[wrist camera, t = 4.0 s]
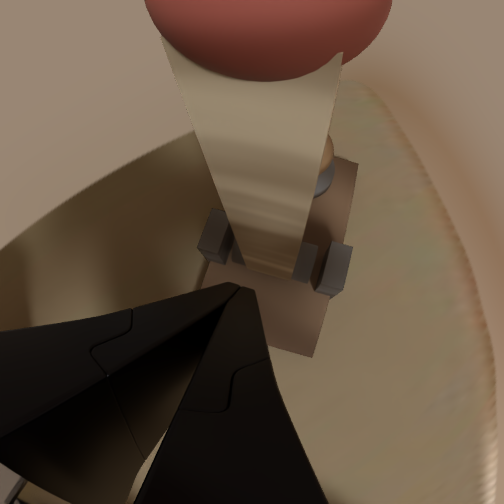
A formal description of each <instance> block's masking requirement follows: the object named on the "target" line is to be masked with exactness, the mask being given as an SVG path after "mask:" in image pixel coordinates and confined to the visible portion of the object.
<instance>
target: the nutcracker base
mask: <svg viewBox="0 0 504 504" xmlns="http://www.w3.org/2000/svg"><path fill="white" fill-rule="evenodd" d="M333 154H334V147H333V143H332V140H331V138H330V136H329V134H328V138H327V142H326V146H325V151H324V155H323V159H322V164H321V168H320V172H319V176H318V180H317V184H316V188H315V192H314V196H313V200H312V204H311V208H310V212H309V216H308V220H307V224H306V228H305V231H304V235H303V239H302V241H303V242H306V243H310V244H313V245H317V246H318V250H317V255H316V259H315V262H314V266H313V269H312V273H311V276H310V279H309V281H308V283H307V284H306V283H303V282H300V281H296V280H293V279H291V281H288V280H284V279H281V278H278V277H274V276H271V275H267V274H264V273H261V272H257V271H254V270H250V269H247V267H246V266H245V265H242V264H238V263H235V262H232V250H233V245H234V241H235V236H234V233H233V230H232V228H231V225H230V223H229V220H228V217H227V215H226V212H225V211H221V210H217V209H214V208H212V210H211V212H210V215H209V217H208V220H207V222H206V225H205V228H204V230H203V233H202V235H201V238H200V241H199V243H198V246H197V248H198V249H199V251H200V252H201V253H202V254H203V255H204V257H205V258H206V259H207V260H208V261H209V266H208V269H207V271H206V274H205V277H204V280H203V283H202V286H201V288H200V289H204V288H207V287H211V286H214V285H218V284H221V283H224V282H232V283H235V284H238V285H240V286H241V287H242V286H245V287H248V288H251V289H254V290H255V292H256V296H257V301H258V305H259V310H260V314H261V319H262V323H263V328H264V333H265V337H266V342H267V345H269V346H272V347H276V348H279V349H283V350H286V351H289V352H293V353H297V354H300V355H304V356H307V357H311V358H312V357H313V353H314V350H315V347H316V344H317V341H318V337H319V334H320V330H321V327H322V324H323V320H324V317H325V313H326V310H327V306H328V302H329V300H330V299H331V298H333V297H334V296H335V295H337V294H338V293H340V292H341V291H342V290H343V288H344V284H345V280H346V276H347V271H348V267H349V263H350V258H351V254H352V249H353V247H351V246H348V245H344V244H343V242H344V237H345V232H346V228H347V223H348V218H349V213H350V208H351V203H352V198H353V192H354V187H355V181H356V176H357V170H358V164H357V163H354V162H351V161H347V160H344V159H341V158H337V157H334V156H333Z"/></svg>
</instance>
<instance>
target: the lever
mask: <svg viewBox="0 0 504 504" xmlns="http://www.w3.org/2000/svg"><path fill="white" fill-rule="evenodd" d="M145 4H146V8H147V10H148V12H149V14H150V16H151V18H152V21H153V23H154V24H155V26H156V27H157V29H158V30H159V32H160V33H161V35H162V36H161V40H162V43H163V46H164V49H165V52H166V54H167V57H168V60H169V62H170V65H171V68H172V71H173V73H174V76H175V79H176V82H177V84H178V87H179V90H180V92H181V95H182V98H183V101H184V103H185V106H186V109H187V111H188V114H189V117H190V120H191V122H192V125H193V128H194V130H195V133H196V136H197V138H198V141H199V144H200V146H201V149H202V152H203V154H204V157H205V160H206V162H207V165H208V168H209V170H210V173H211V175H212V178H213V181H214V183H215V186H216V189H217V191H218V194H219V197H220V199H221V202H222V204H223V207H224V210H225V212H226V215H227V217H228V220H229V223H230V225H231V228H232V230H233V233H234V236H235V241H234V245H233V250H232V262H235V263H238V264H242V265H245V266H246V267H247V269H250V270H254V271H257V272H261V273H264V274H267V275H271V276H274V277H278V278H281V279H284V280H288V281H291V279H293V280H296V281H300V282H303V283H306V284H307V283H308V281H309V279H310V276H311V273H312V269H313V266H314V262H315V259H316V255H317V250H318V246H317V245H313V244H310V243H306V242H303V241H302V239H303V235H304V231H305V228H306V224H307V220H308V216H309V212H310V208H311V204H312V200H313V196H314V192H315V188H316V184H317V180H318V176H319V172H320V168H321V164H322V159H323V155H324V151H325V146H326V142H327V138H328V133H329V129H330V124H331V119H332V115H333V110H334V105H335V100H336V96H337V91H338V86H339V81H340V75H341V70H342V65H344V64H345V63H347V62H349V61H350V60H352V59H353V58H355V57H356V56H358V55H359V54H360V53H361V52H362V51H363V50H364V49H366V48H367V47H368V46H369V45H370V44H371V42H372V41H373V40H374V39H375V38H376V37H377V35H378V34H379V32H380V30H381V29H382V27H383V25H384V23H385V21H386V20H387V17H388V15H389V12H390V9H391V6H392V0H145Z"/></svg>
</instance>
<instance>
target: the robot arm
mask: <svg viewBox="0 0 504 504" xmlns="http://www.w3.org/2000/svg"><path fill="white" fill-rule="evenodd" d="M167 429H168V430H167ZM166 430H167V432H166ZM165 432H166V434H165V436H164V438H163V440H162V443H161V445H160V447H159V449H158V451H157V453H156V456H155V458H154V460H153V462H152V464H151V467H150V469H149V471H148V473H147V475H146V477H145V480H144V482H143V484H142V486H141V488H140V490H139V493H138V495H137V497H136V499H135V501H134V503H133V504H329V503H328V501H327V499H326V497H325V495H324V492H323V490H322V488H321V486H320V484H319V482H318V479H317V477H316V475H315V473H314V471H313V468H312V466H311V464H310V462H309V459H308V457H307V455H306V453H305V450H304V448H303V446H302V444H301V441H300V439H299V437H298V434H297V432H296V430H295V428H294V425H293V423H292V421H291V418H290V416H289V414H288V411H287V409H286V407H285V404H284V402H283V399H282V396H281V394H280V391H279V388H278V385H277V382H276V378H275V375H274V371H273V367H272V362H271V360H270V355H269V351H268V346H267V342H266V337H265V333H264V328H263V323H262V319H261V314H260V310H259V305H258V301H257V296H256V292H255V290H254V289H251V288H248V287H245V286H242V287H241V286H240V285H238V284H235V283H232V282H224V283H221V284H218V285H214V286H211V287H207V288H204V289H200V290H197V291H193V292H189V293H186V294H182V295H179V296H175V297H172V298H168V299H164V300H161V301H157V302H153V303H150V304H146V305H142V306H139V307H135V308H133V310H132V309H131V308H129V309H126V310H122V311H118V312H114V313H110V314H106V315H101V316H96V317H91V318H86V319H80V320H74V321H68V322H62V323H56V324H49V325H42V326H36V327H29V328H22V329H15V330H7V331H0V504H125V503H126V500H127V498H128V495H129V493H130V490H131V488H132V485H133V483H134V480H135V478H136V475H137V473H138V472H139V470H140V468H141V466H142V465H143V463H144V462H145V460H146V459H147V458H148V456H149V455H150V453H151V452H152V450H153V449H154V448H155V446H156V445H157V443H158V442H159V440H160V439H161V437H162V436H163V434H164V433H165Z"/></svg>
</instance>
